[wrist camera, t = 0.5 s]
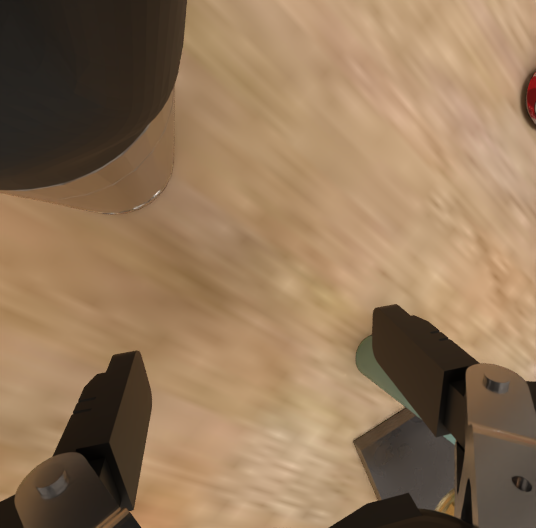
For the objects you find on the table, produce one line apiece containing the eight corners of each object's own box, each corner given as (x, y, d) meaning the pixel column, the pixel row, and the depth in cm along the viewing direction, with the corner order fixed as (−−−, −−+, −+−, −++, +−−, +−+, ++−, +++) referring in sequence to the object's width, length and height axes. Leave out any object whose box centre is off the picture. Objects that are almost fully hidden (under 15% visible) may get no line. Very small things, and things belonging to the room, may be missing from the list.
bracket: (353, 441, 34) (451, 558, 22) (453, 377, 36) (591, 450, 24) (391, 530, 36) (498, 679, 24) (483, 464, 39) (620, 569, 27)
